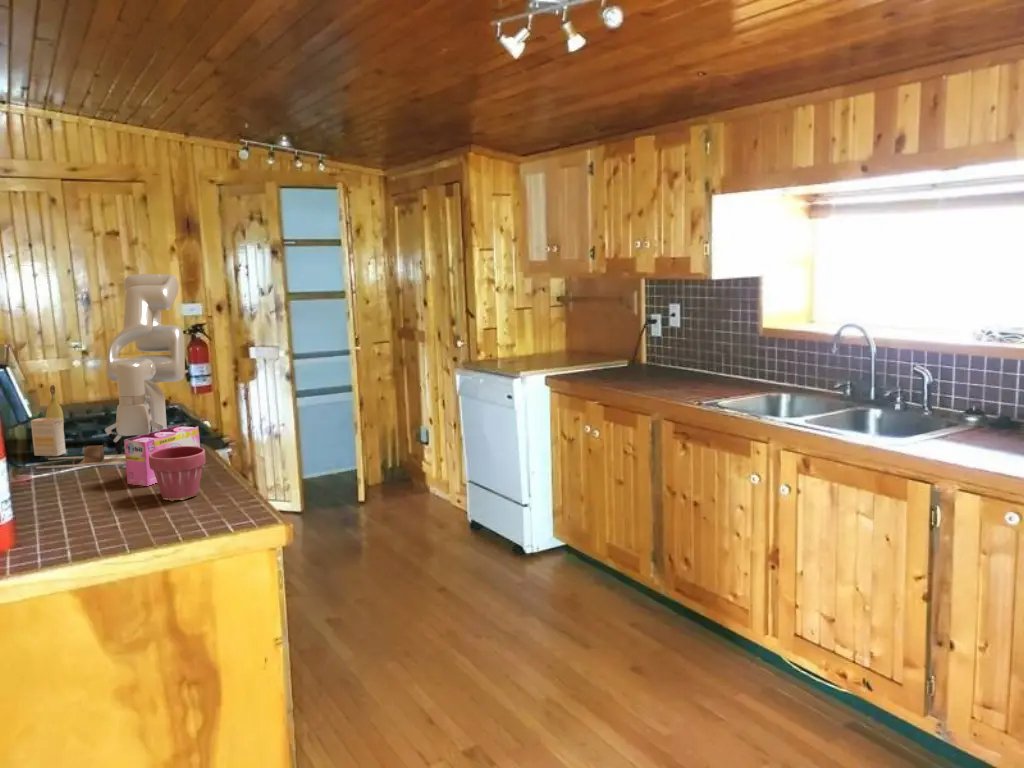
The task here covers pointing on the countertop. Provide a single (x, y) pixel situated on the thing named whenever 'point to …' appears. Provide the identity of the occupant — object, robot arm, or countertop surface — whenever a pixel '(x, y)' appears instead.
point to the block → (93, 454)
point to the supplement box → (48, 436)
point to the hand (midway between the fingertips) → (136, 452)
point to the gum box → (148, 443)
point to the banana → (54, 407)
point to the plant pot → (178, 470)
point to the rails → (84, 464)
